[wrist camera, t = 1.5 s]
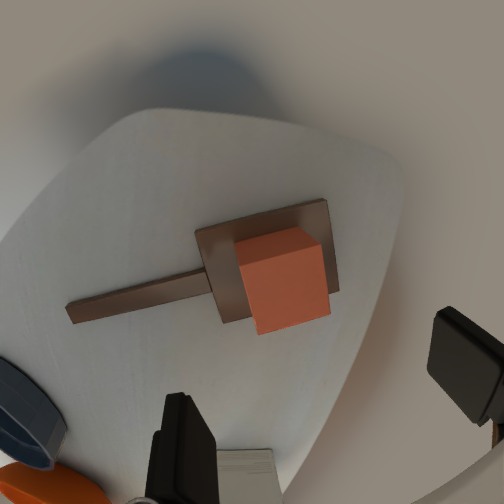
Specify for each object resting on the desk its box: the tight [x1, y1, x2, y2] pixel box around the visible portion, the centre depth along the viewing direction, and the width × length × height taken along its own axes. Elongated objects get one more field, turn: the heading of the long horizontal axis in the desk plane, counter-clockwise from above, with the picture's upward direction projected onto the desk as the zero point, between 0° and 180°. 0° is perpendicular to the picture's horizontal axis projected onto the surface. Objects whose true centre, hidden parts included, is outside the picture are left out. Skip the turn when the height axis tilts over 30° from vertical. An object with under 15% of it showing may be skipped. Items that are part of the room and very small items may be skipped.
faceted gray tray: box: [0, 359, 67, 471], centre depth 19 cm, size 15×15×6 cm
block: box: [234, 226, 331, 335], centre depth 17 cm, size 4×4×4 cm
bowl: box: [0, 462, 112, 504], centre depth 23 cm, size 25×25×10 cm
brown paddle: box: [65, 198, 339, 324], centre depth 19 cm, size 7×21×1 cm, turn 103°
